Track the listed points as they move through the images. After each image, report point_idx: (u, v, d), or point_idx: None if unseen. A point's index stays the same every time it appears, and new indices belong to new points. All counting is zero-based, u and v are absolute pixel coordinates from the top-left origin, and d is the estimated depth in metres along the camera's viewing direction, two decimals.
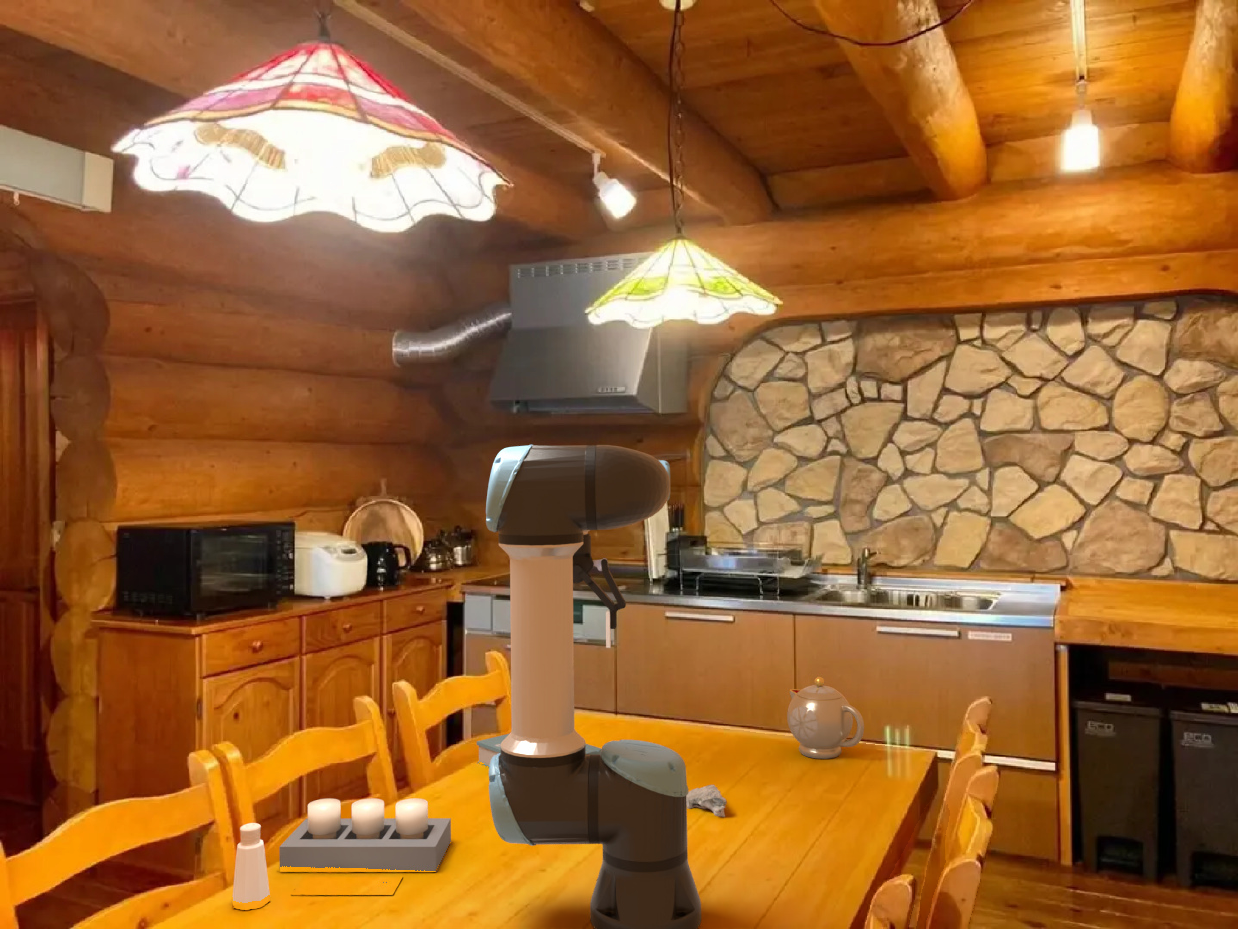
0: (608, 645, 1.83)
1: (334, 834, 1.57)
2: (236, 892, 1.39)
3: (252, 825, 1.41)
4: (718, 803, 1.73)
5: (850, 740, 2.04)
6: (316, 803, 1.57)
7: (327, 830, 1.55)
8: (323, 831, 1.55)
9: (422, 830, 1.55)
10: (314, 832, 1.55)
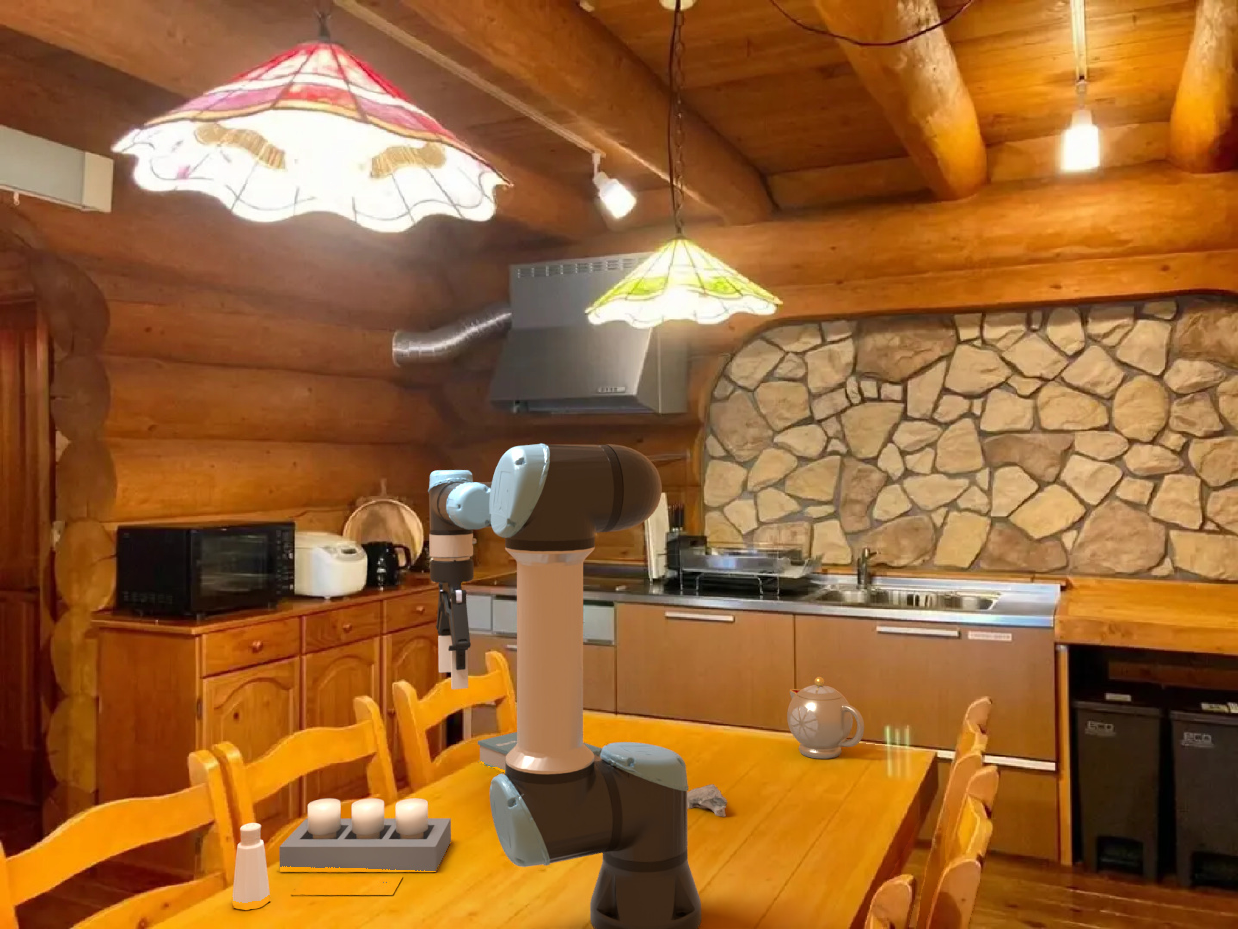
0: (451, 686, 1.66)
1: (334, 834, 1.57)
2: (236, 892, 1.39)
3: (253, 825, 1.41)
4: (718, 803, 1.73)
5: (850, 740, 2.04)
6: (316, 803, 1.57)
7: (327, 830, 1.55)
8: (323, 831, 1.55)
9: (422, 830, 1.55)
10: (314, 832, 1.55)
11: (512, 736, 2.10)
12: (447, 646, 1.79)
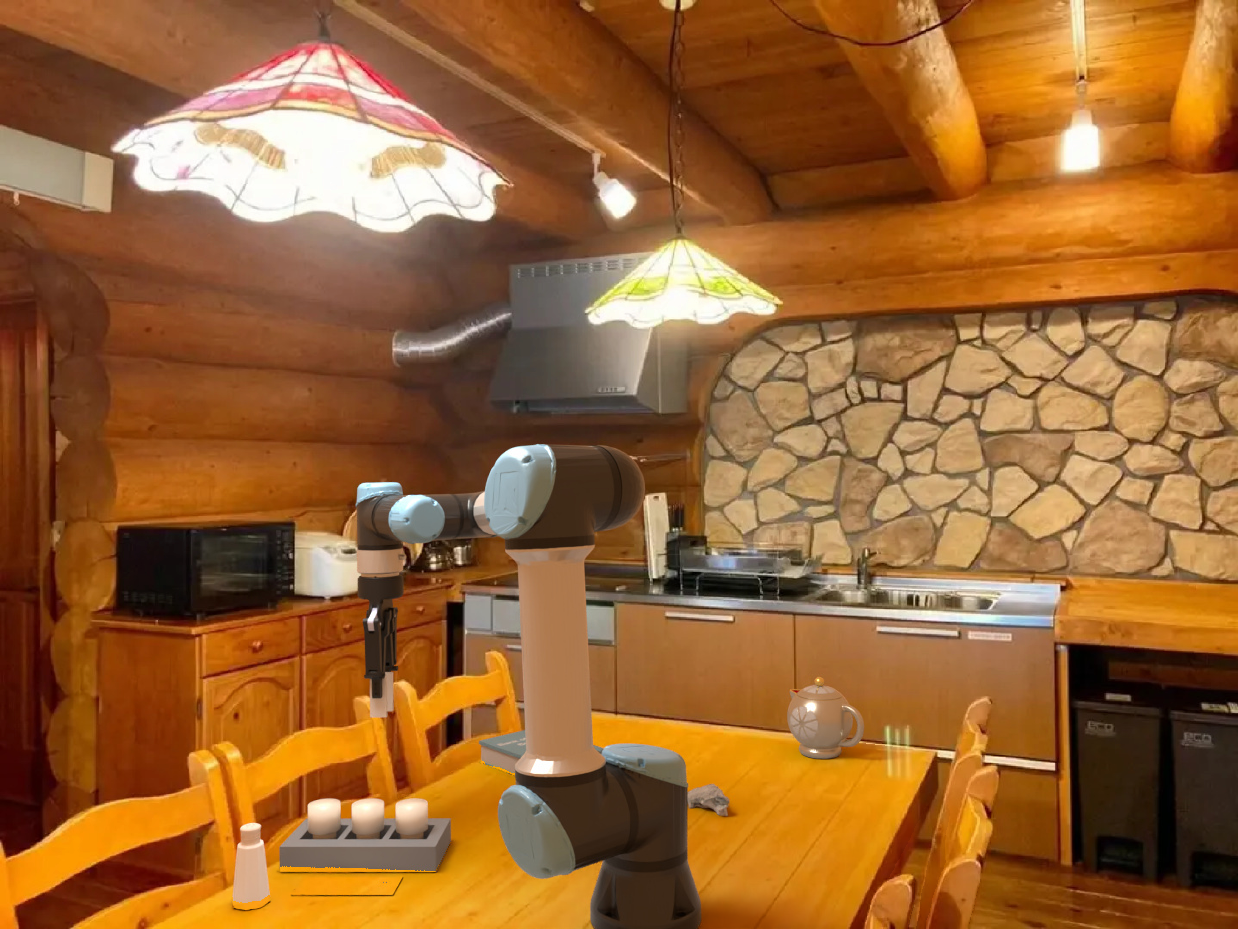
0: None
1: (334, 834, 1.57)
2: (236, 892, 1.39)
3: (253, 825, 1.41)
4: (721, 802, 1.74)
5: (850, 740, 2.04)
6: (316, 803, 1.57)
7: (327, 830, 1.55)
8: (323, 831, 1.55)
9: (422, 830, 1.55)
10: (314, 832, 1.55)
11: (513, 736, 2.10)
12: None
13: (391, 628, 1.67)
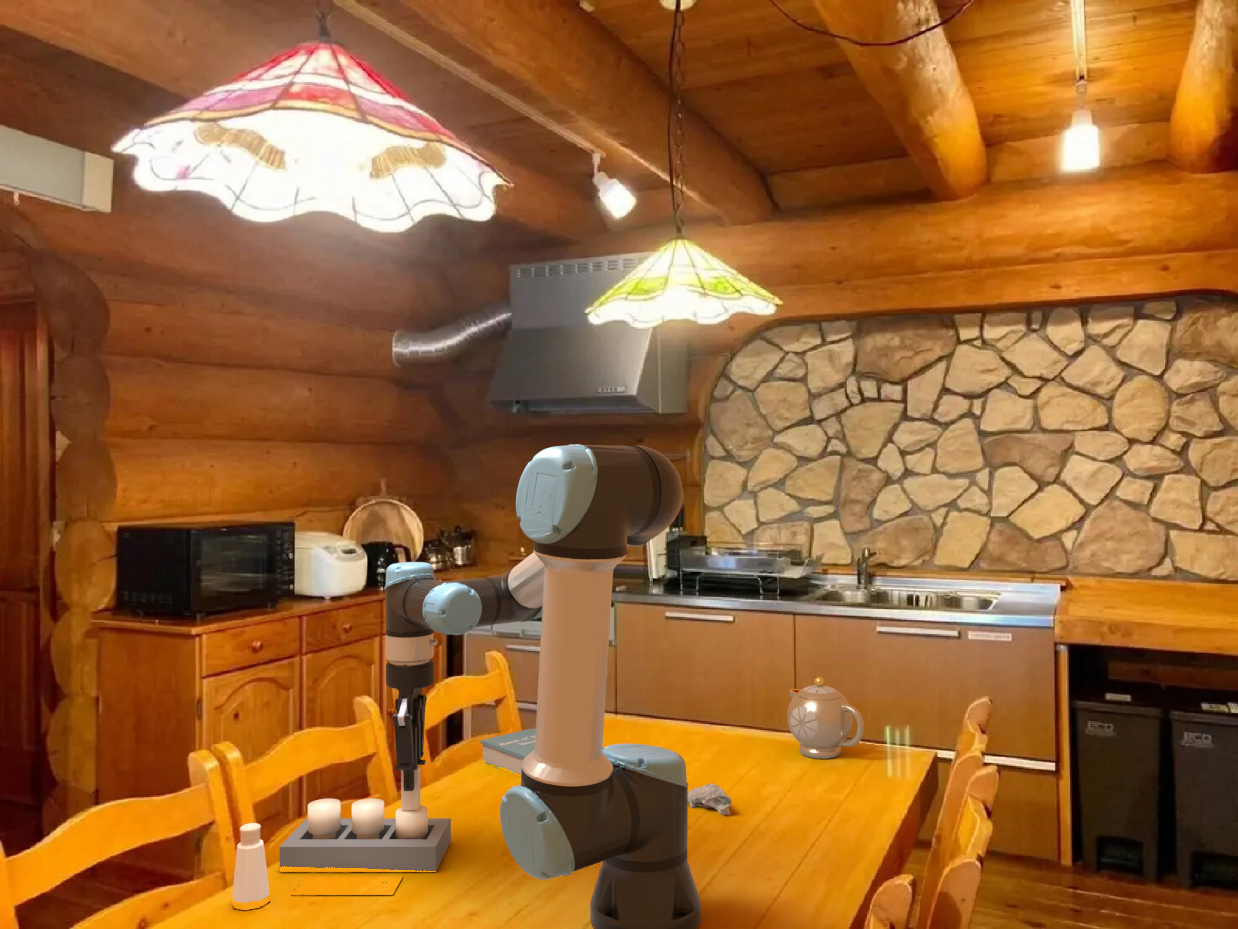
0: None
1: (334, 834, 1.57)
2: (236, 892, 1.39)
3: (252, 825, 1.41)
4: (723, 801, 1.74)
5: (850, 740, 2.04)
6: (316, 803, 1.57)
7: (327, 830, 1.55)
8: (323, 831, 1.55)
9: (422, 837, 1.55)
10: (314, 832, 1.55)
11: (515, 735, 2.10)
12: None
13: (420, 717, 1.58)
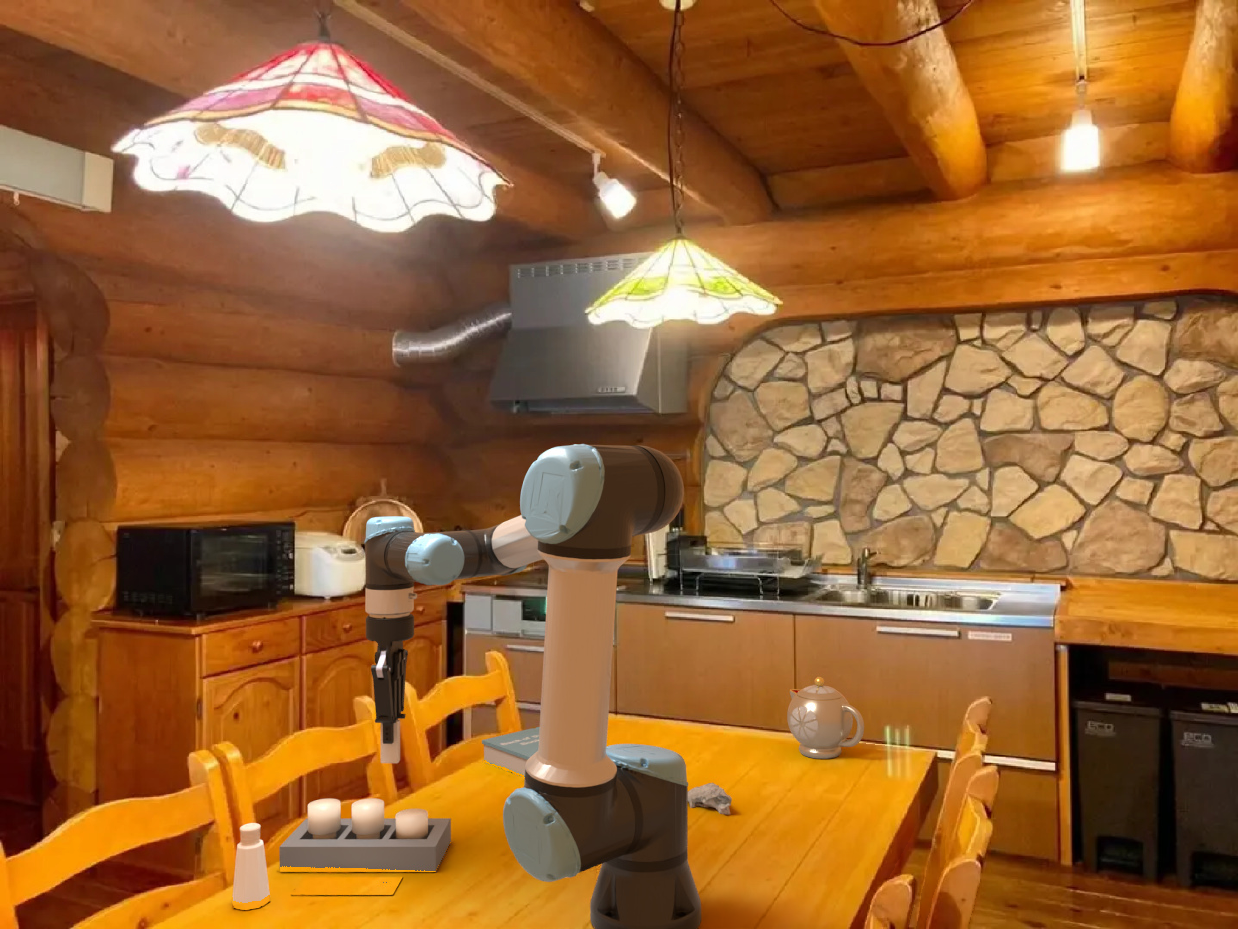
0: None
1: (334, 834, 1.57)
2: (236, 892, 1.39)
3: (252, 825, 1.41)
4: (723, 801, 1.74)
5: (850, 740, 2.04)
6: (316, 803, 1.57)
7: (327, 830, 1.55)
8: (323, 831, 1.55)
9: None
10: (314, 832, 1.55)
11: (516, 735, 2.10)
12: None
13: (400, 671, 1.58)
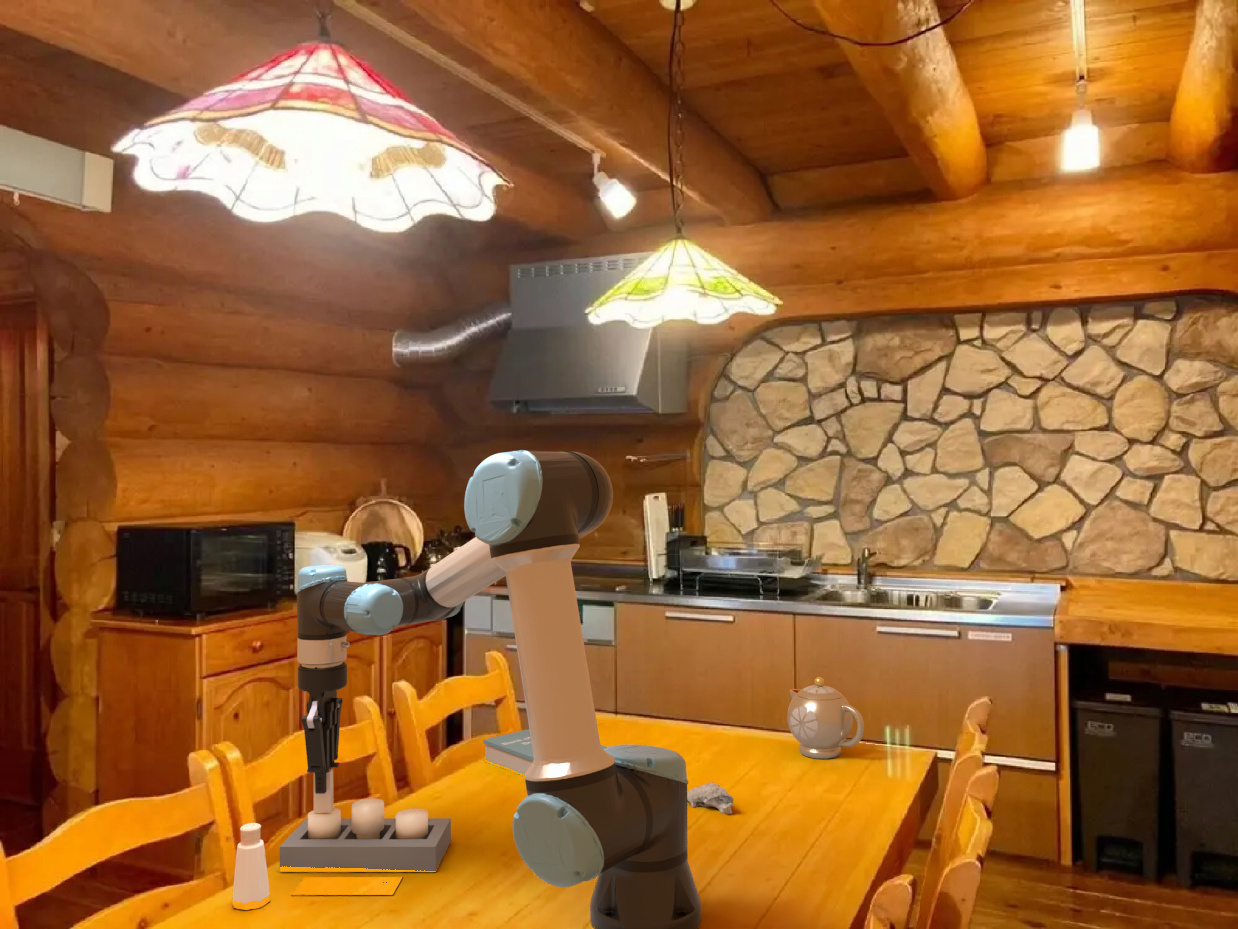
0: None
1: None
2: (236, 892, 1.39)
3: (253, 825, 1.41)
4: (725, 800, 1.75)
5: (850, 740, 2.04)
6: None
7: None
8: None
9: None
10: None
11: (517, 735, 2.10)
12: None
13: (333, 720, 1.58)
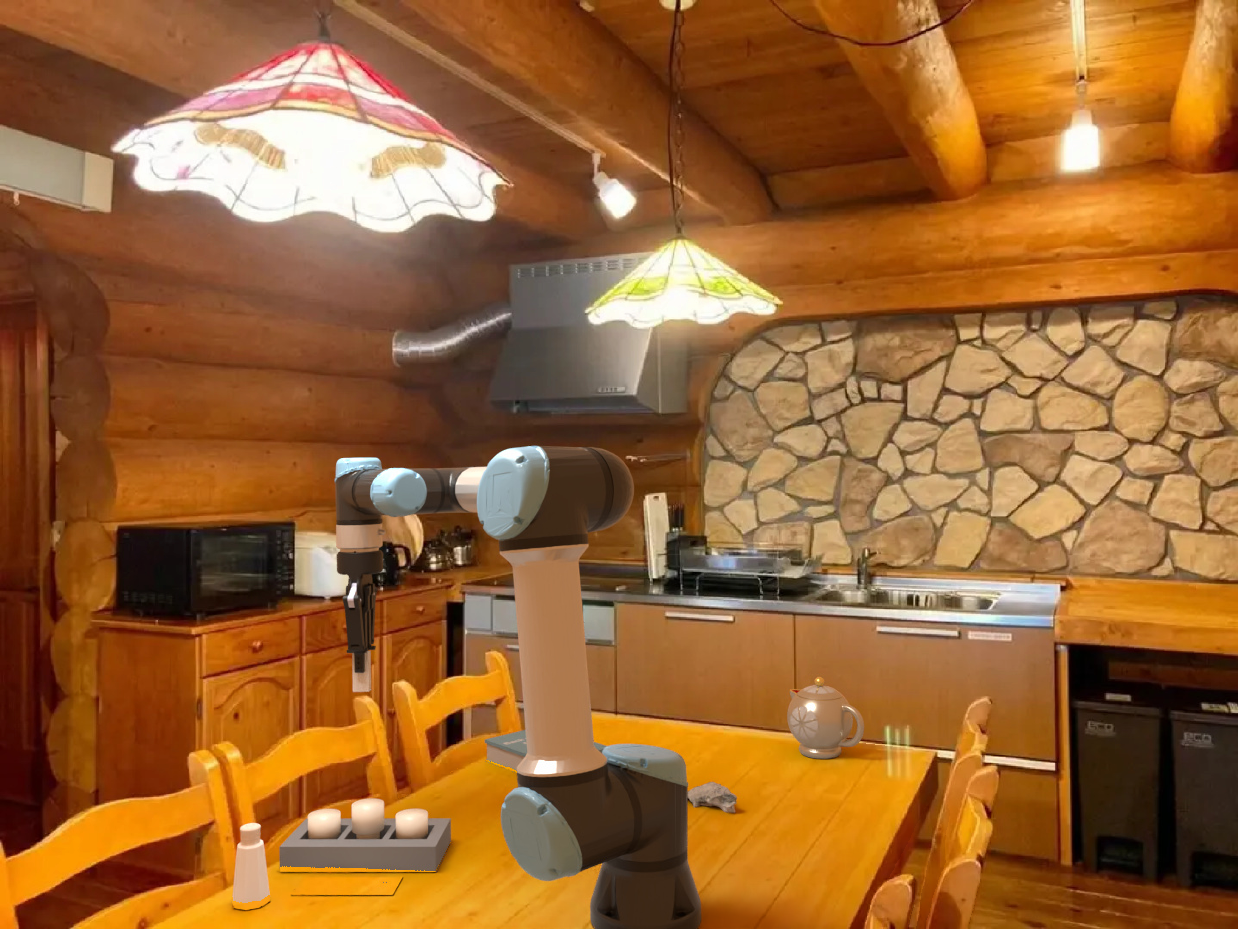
0: None
1: None
2: (236, 892, 1.39)
3: (252, 825, 1.41)
4: (728, 799, 1.75)
5: (850, 740, 2.04)
6: (316, 813, 1.57)
7: None
8: None
9: None
10: None
11: (519, 734, 2.11)
12: None
13: (370, 604, 1.66)
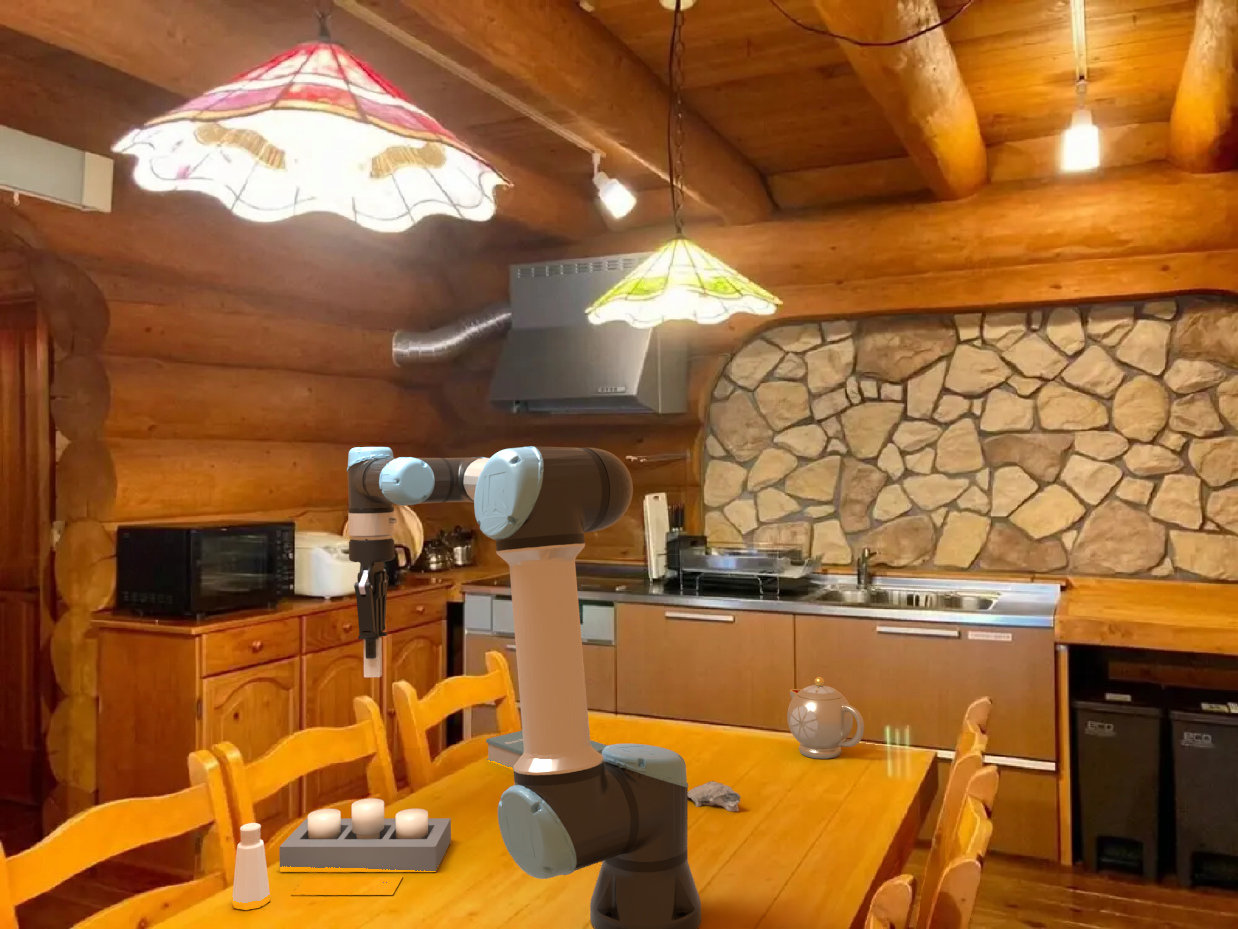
0: None
1: None
2: (236, 892, 1.39)
3: (252, 825, 1.41)
4: (732, 798, 1.76)
5: (850, 740, 2.04)
6: (316, 813, 1.57)
7: None
8: None
9: None
10: None
11: (520, 734, 2.11)
12: None
13: (381, 591, 1.69)
